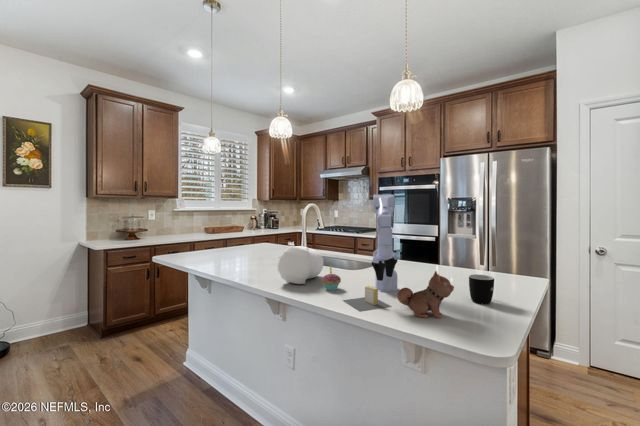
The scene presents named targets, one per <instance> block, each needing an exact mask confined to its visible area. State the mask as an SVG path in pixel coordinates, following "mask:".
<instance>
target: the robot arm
mask: <svg viewBox="0 0 640 426" xmlns="http://www.w3.org/2000/svg"><path fill="white" fill-rule="evenodd" d="M372 199H373V201H372V203H373V204H372V205H373V211H374V212H373V213H374V214H375V215H377V216H376V230H377V249H376V250H374V251H373V253H372V261H371V266H372V268H373V270H374V272H375V286H373V287H374V288H377V289H378V292H380V293H385V292H392V291H399V288H398V272H397V271H396V269H395V268H396V264H397V263H398V259H397V258H396V253H395V252H394V251H393V229H394V226H395V220H394V211H395V204H396V203H395V202H396V200H395V199H396V197H395V194H374V195H373V198H372Z"/></svg>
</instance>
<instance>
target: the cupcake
mask: <svg viewBox="0 0 640 426" xmlns="http://www.w3.org/2000/svg"><path fill="white" fill-rule="evenodd" d="M321 279H322V282H323V284H324V285H325V286H324V287H325V289H326V290H327V291H337V290H338V288H339V285H340V283H341V282H342V280H341V279H342V278H341V277H340V276H339V275H338V274H334V273H333V272H332V264H330V265H329V273H328V274H325V275H324V276H323V277H322V278H321Z"/></svg>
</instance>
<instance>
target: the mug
mask: <svg viewBox="0 0 640 426" xmlns="http://www.w3.org/2000/svg"><path fill="white" fill-rule="evenodd" d="M468 288H469V295H470V299H471V301H472V302H473V303H475V304H477V305H490V304H491V302H492V299H493V295H494V290H495V278H494V276H491V275H487V274H476V273H475V274H469V275H468Z"/></svg>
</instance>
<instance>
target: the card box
mask: <svg viewBox="0 0 640 426" xmlns="http://www.w3.org/2000/svg"><path fill="white" fill-rule="evenodd" d="M374 287H375V286H370V285H368V286H365V287H364V297H365V302H367V303H370V304H372V305H376V304H378V300H379V291H378V289H377V288H374Z"/></svg>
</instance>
